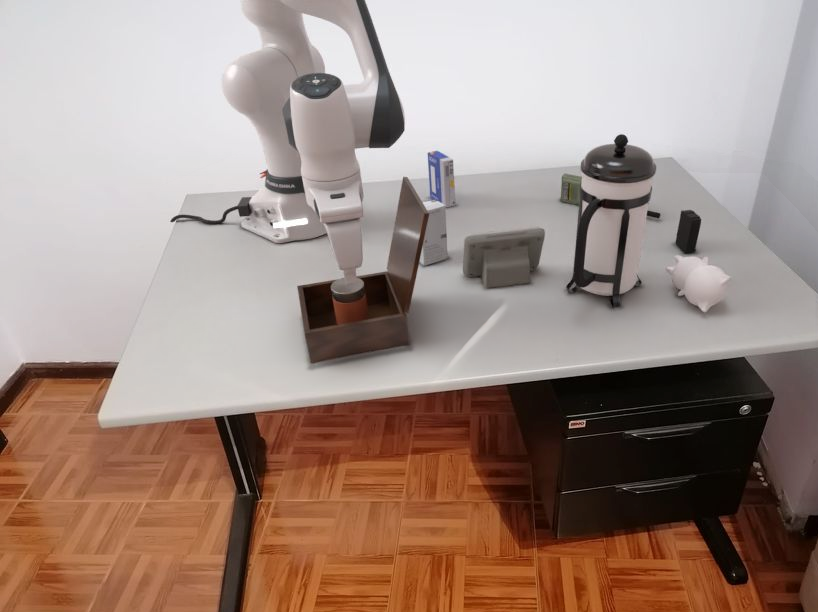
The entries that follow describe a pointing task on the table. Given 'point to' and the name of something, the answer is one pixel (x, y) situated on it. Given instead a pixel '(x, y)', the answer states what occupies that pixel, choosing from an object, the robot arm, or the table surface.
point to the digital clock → (503, 255)
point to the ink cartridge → (688, 231)
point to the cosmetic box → (434, 234)
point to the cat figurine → (699, 281)
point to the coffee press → (612, 218)
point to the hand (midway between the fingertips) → (346, 267)
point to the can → (349, 301)
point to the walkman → (441, 178)
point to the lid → (407, 243)
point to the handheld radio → (572, 188)
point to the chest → (353, 337)
